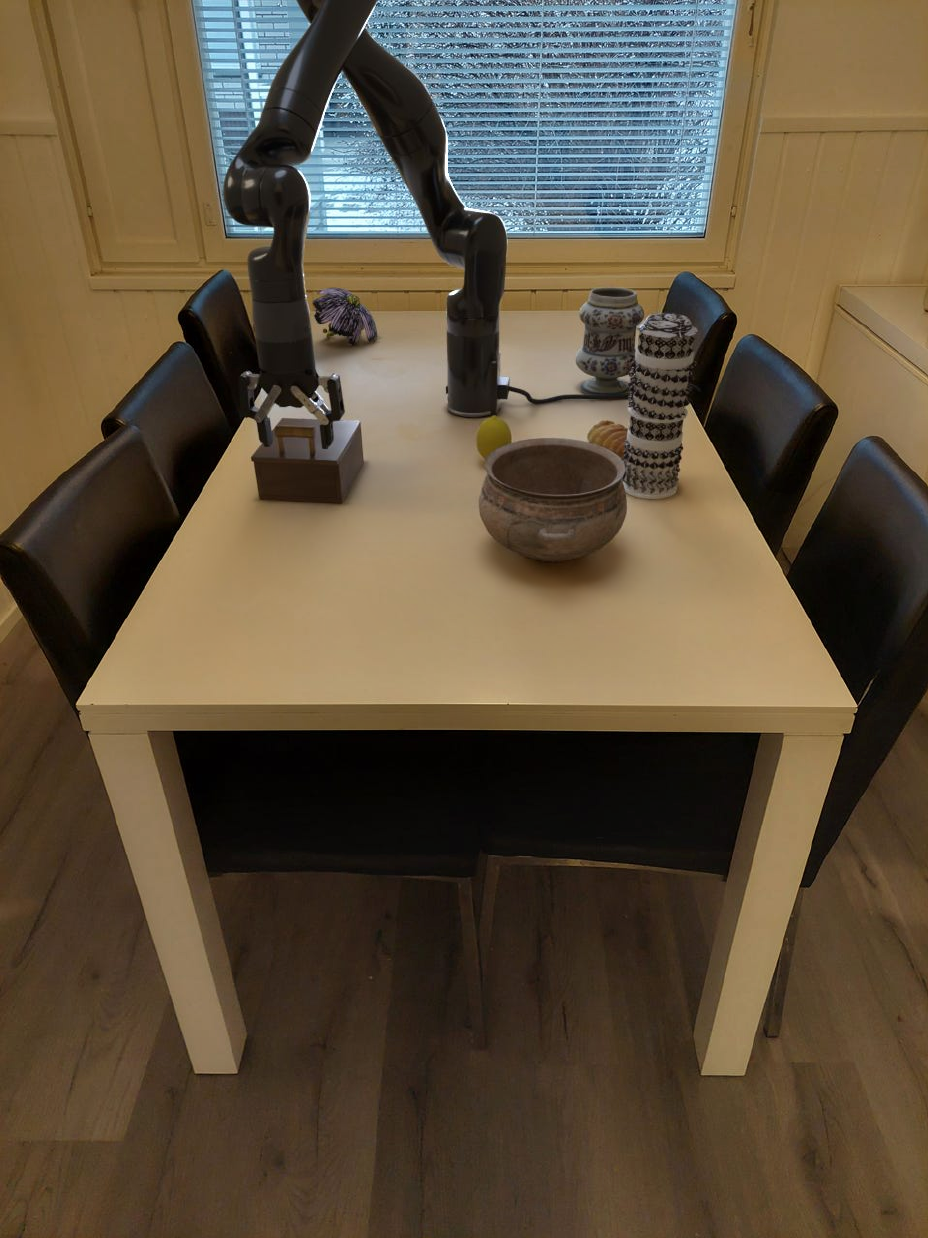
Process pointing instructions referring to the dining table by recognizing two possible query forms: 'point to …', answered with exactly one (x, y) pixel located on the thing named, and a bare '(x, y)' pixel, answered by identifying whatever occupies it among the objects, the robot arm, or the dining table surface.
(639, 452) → the decorative candle
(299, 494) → the case
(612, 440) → the pastry
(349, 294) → the decorative flower
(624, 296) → the apothecary jar
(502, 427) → the lemon
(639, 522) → the dining table surface
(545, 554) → the cooking pot
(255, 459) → the case cover
